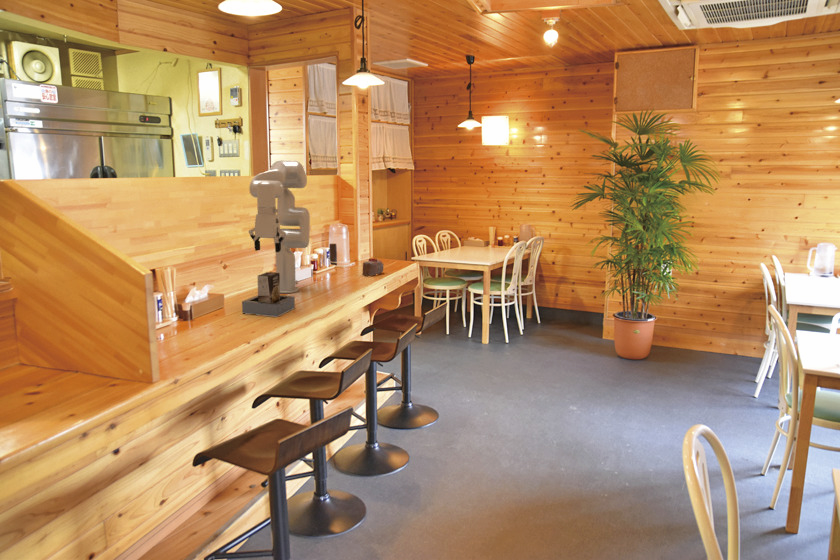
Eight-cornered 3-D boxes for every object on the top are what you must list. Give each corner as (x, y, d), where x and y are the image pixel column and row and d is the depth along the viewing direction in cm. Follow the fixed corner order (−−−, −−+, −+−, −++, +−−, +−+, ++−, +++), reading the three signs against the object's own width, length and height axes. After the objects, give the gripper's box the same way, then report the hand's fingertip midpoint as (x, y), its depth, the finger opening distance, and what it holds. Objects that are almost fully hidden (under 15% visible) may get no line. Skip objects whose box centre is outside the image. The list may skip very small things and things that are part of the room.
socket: (262, 305, 268) (261, 293, 266) (294, 308, 263) (294, 296, 262) (242, 313, 252) (241, 301, 251) (276, 317, 248) (276, 304, 247)
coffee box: (271, 313, 253) (270, 276, 250) (257, 311, 254) (256, 275, 251) (280, 308, 262) (280, 272, 258) (267, 306, 263) (266, 271, 260)
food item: (372, 272, 354) (373, 256, 352) (384, 273, 350) (384, 257, 348) (360, 276, 342) (361, 259, 340) (372, 277, 338) (373, 260, 336)
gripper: (289, 211, 251) (290, 251, 254) (253, 209, 255) (254, 248, 258) (280, 213, 243) (281, 253, 247) (243, 210, 248) (245, 251, 251)
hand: (267, 251), depth 253 cm, fingers open, 9 cm apart
